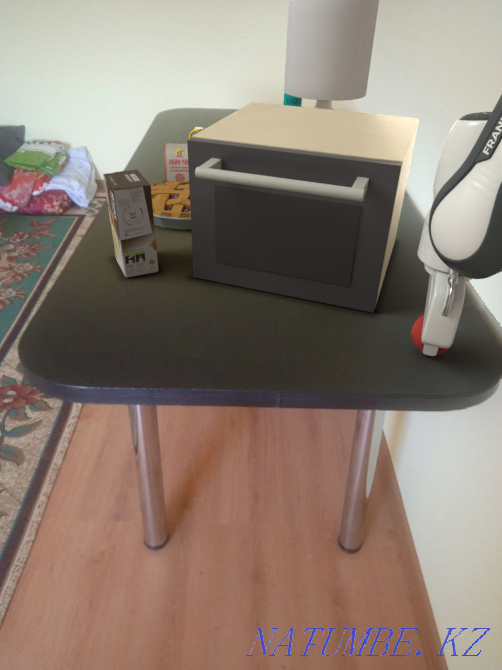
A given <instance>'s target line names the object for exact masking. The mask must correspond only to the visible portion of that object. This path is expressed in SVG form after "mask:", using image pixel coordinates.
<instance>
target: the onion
mask: <svg viewBox="0 0 502 670" xmlns="http://www.w3.org/2000/svg"><path fill="white" fill-rule="evenodd" d="M423 321H424V313H423V314H421V315H420V316H419V317H417V319H416V320H415V321H414V323H413V326H412V328H411V329H410V330H411V332H410V335H411V340H412V343H413V344H414V346H415V347H416V348H417V349H418V350H419V351H420V352H421V353H422V354H423V355H424V356H427V357H430V356H429V355H425V354H424V353H423V346H424V343H422V341H421V336H422V328H423ZM455 339H456V336H455V337H454V340H453V342H454V341H455ZM451 347H452V345H451V346H450V347H449V348H440V347H439V348H438V351H437V354H436V355H435V356H438V355H441V354H443V353H445V352H447V351H448V350H449V349H450V348H451Z"/></svg>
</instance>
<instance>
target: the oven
mask: <svg viewBox="0 0 502 670" xmlns="http://www.w3.org/2000/svg"><path fill="white" fill-rule="evenodd" d="M419 123H420V118H419V117H411V116H410V117H409V116H400V115H390V114H379V113H368V112H359V111H348V110H339V109H334V110H328V109H318V108H314V107H307V106H301V107H297V106H287V105H283V104H275V103H266V102H254V101H252V102H250V103H248V104H246V105H244V106H243V107H241V108H240V109H237V110H236V111H234V112H232V113H230V114H229V115H227V116H225V117H223V118H221V119H220V120H218V121H216V122H214V123H212V124H211V125H209V126H208V127H205V128H204V130H202V131H197V133H195V134H192V138H200V139H208V140H216V141H225V142H233V143H241V144H250V145H258V146H266V147H275V148H283V149H291V150H300V151H308V152H316V153H325V154H333V155H342V156H350V157H358V158H367V159H375V160H383V161H392V162H400V163H403V164H402V169H401V174H400V179H399V185H398V190H397V195H396V200H395V206H394V211H393V216H392V222H391V227H390V232H389V237H388V243H387V248H386V253H385V258H384V264H383V269H382V274H381V279H380V285H379V290H378V295H377V301H376V306H375V308H376V307H377V305H378V304H377V303H378V299H379V296H380V293H381V290H382V287H383V283H384V281H385V276H386V272H387V270H388V266H389V263H390V260H391V256H392V254H393V253H392V252H393V249H394V245H395V244H396V243H395V242H396V239H397V233H398V229H399V224H400V218H401V214H402V209H403V203H404V198H405V195H406V188H407V183H408V178H409V173H410V168H411V164H412V158H413V153H414V149H415V148H414V147H415V143H416V137H417V132H418V128H419Z"/></svg>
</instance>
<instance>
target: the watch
mask: <svg viewBox="0 0 502 670" xmlns="http://www.w3.org/2000/svg"><path fill="white" fill-rule="evenodd" d="M204 129H205V128H204V127H202V126H195V127H194V129H192V130H191V131H190V133H189V136H188V139H190V138H192V136H193V134H194V132H200V131H202V130H204Z"/></svg>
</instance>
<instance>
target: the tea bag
mask: <svg viewBox="0 0 502 670" xmlns="http://www.w3.org/2000/svg"><path fill="white" fill-rule="evenodd" d="M163 164H164V175H165V176H164V177H165V179H164V180H165V183H166V182H167V181H172V180H174V181H175V182H182V181H184V180H189V168H188V146H187V143H163Z"/></svg>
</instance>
